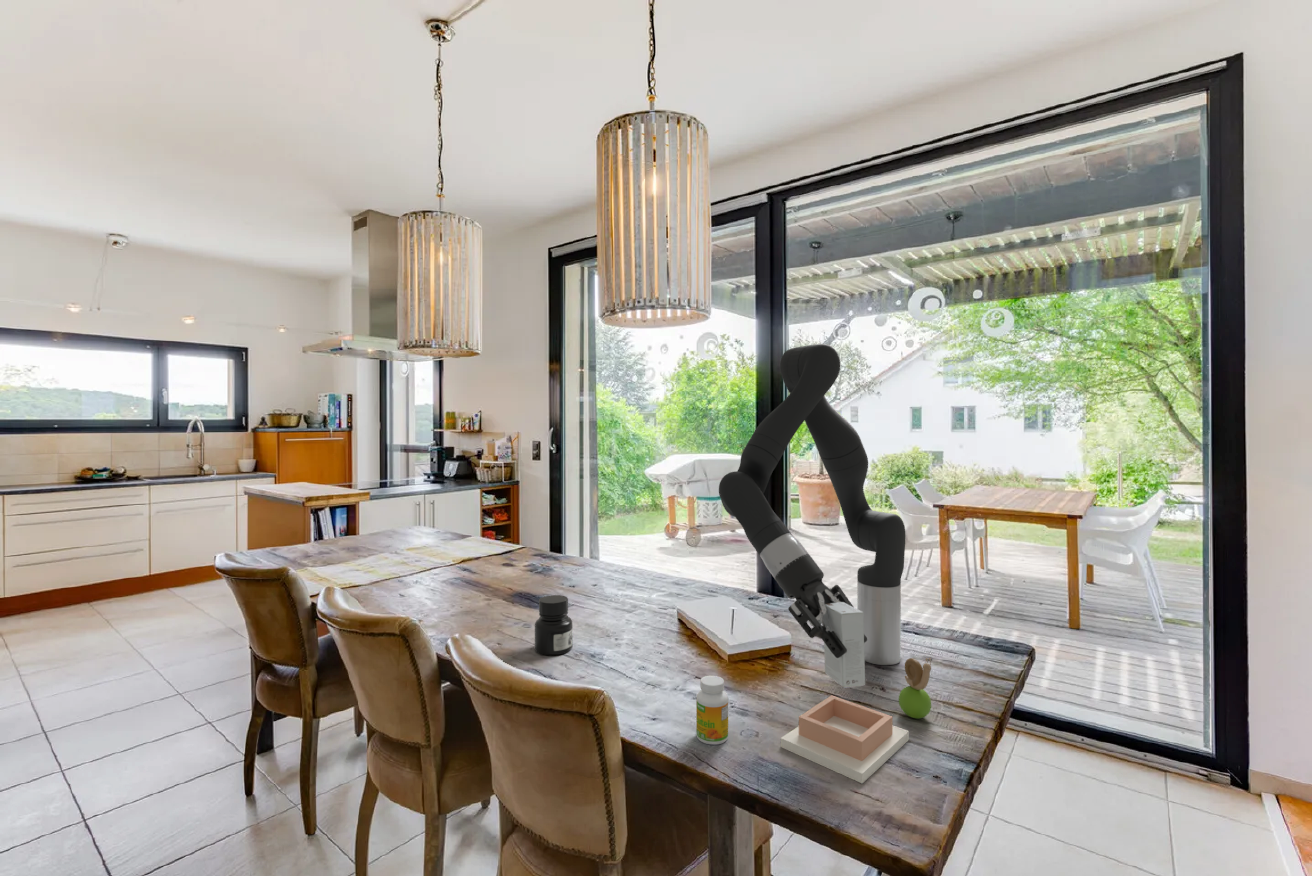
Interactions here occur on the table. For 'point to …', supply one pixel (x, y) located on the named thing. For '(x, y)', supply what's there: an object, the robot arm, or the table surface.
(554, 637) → the ink bottle
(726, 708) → the supplement bottle
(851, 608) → the skincare box
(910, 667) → the snail figurine
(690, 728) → the table surface
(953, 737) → the table surface
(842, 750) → the socket stand
